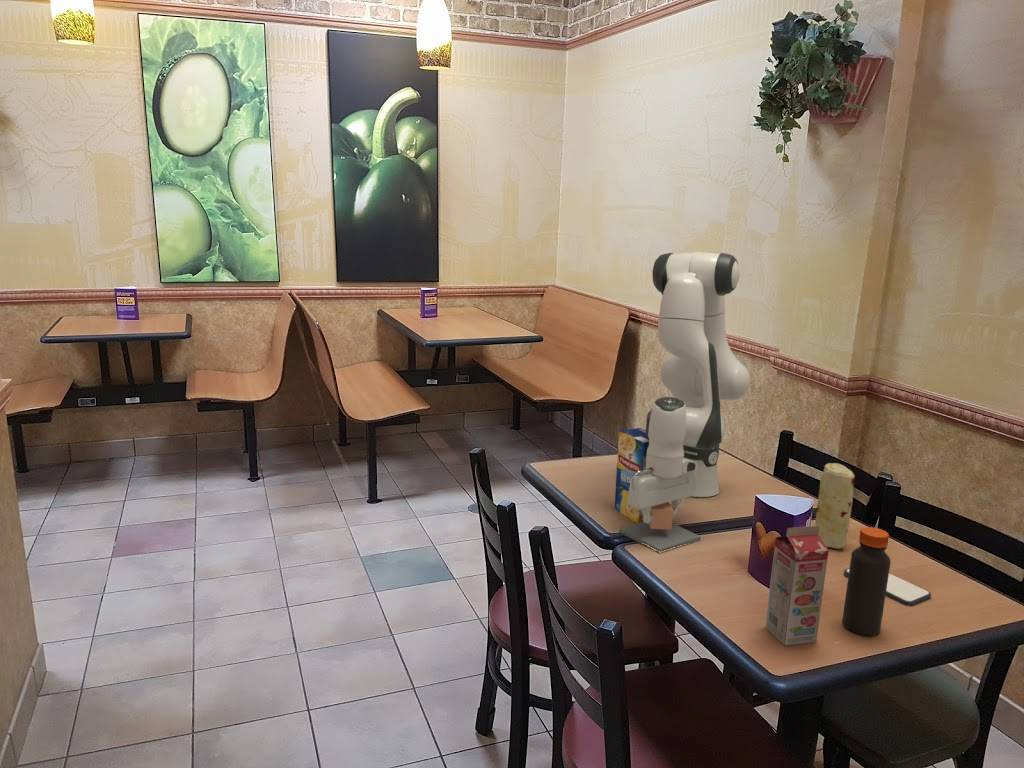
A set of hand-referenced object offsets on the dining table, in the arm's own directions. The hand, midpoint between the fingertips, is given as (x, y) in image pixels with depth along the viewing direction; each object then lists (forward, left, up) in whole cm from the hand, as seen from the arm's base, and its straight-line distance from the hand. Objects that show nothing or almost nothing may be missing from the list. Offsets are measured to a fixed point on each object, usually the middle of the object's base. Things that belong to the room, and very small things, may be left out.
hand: (659, 518), depth 183 cm
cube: (0, 0, -2) cm, 2 cm away
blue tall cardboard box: (-13, +6, -5) cm, 15 cm away
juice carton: (+45, -10, -5) cm, 46 cm away
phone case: (+44, +25, -5) cm, 51 cm away
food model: (+25, +34, -5) cm, 42 cm away
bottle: (+51, +3, -5) cm, 51 cm away
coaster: (0, 0, -5) cm, 5 cm away
